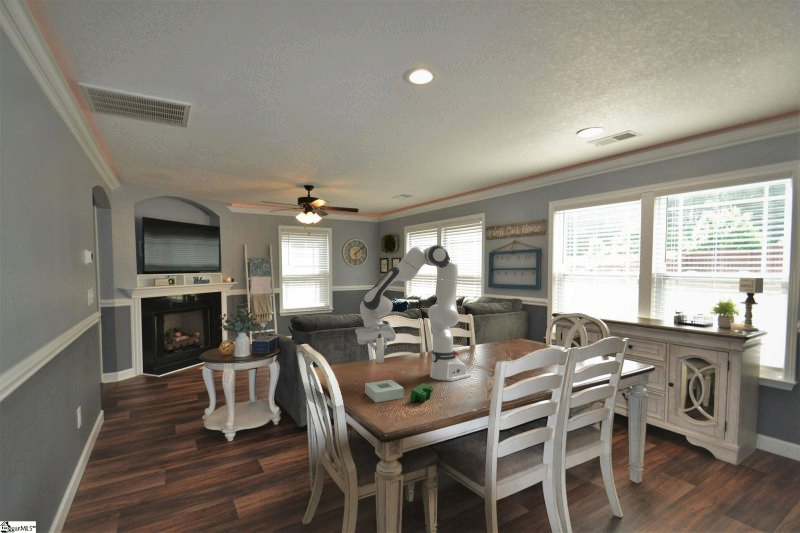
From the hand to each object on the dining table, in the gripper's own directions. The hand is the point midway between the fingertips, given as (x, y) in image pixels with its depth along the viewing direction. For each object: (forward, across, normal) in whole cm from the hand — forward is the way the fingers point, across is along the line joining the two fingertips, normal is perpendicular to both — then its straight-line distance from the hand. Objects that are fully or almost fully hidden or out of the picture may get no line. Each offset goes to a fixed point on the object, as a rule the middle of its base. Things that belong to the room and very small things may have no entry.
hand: (380, 348), depth 190 cm
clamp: (+31, +10, -4) cm, 33 cm away
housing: (+22, -3, +5) cm, 23 cm away
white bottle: (+4, 0, +5) cm, 7 cm away
